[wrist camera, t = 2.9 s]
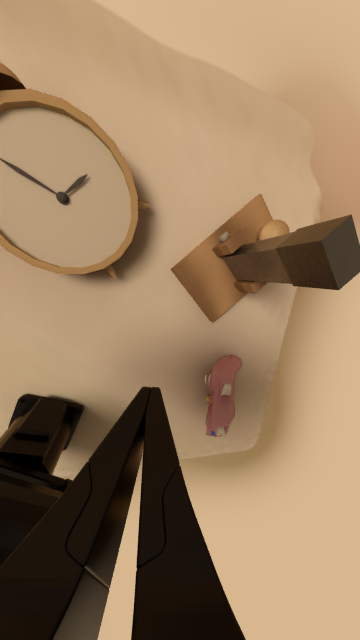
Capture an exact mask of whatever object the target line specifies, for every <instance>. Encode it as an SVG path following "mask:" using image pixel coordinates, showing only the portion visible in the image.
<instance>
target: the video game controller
mask: <svg viewBox="0 0 360 640" xmlns="http://www.w3.org/2000/svg"><path fill="white" fill-rule="evenodd" d="M241 365H242V361H241V359H240V358H238V357H236V356H232V355H231V356H226V357H223V358H221V359H220V360H219V361H218V362H217V363H216V364H215V365H214V366H213V368H212V371H211V374H210V375H209V377H207V375H206V376H205V384H206V385H207V382H208V385H209V388H210V396H207V398H206V400H207V402H209V407H208V413H207V414H206V435H209V436H214V437H218V436H224V437H225V435H226V433H227V431H228V428H229V424H230V423H231V422H232V420H233V418H234V414H235V412H234V411H235V409H234V402H233V393H234V376H235V374H236V372H237V371H238V370H239V368H240V367H241Z"/></svg>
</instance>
